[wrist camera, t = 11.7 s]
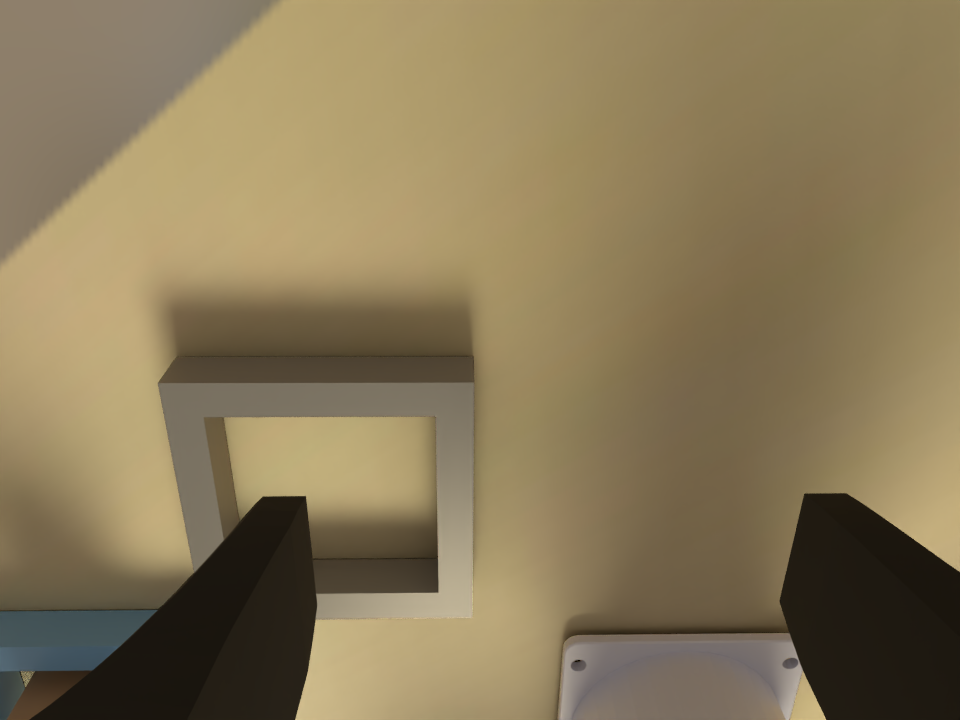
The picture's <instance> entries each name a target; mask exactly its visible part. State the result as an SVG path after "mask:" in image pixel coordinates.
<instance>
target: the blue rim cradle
mask: <svg viewBox="0 0 960 720" xmlns="http://www.w3.org/2000/svg"><path fill="white" fill-rule="evenodd" d="M156 611H157V610H95V611H0V720H7V718H8V717H9V715H10V713H11V711H12V710H13V708H14V706H15V705H16V703H17V701H18V700H19V698H20V696H21V695H22V693H23V691H24V689H25V687H24V684H23V681H22V678H21V675H20V672H19V671H84V670H93V669H95V668H96V667H97V666H98V665H99V664H100V663H102V662H103V661H104V660H105V659H106V658H107V657H108V656H109V655H111V654H112V653H113V652H114V651H115V650H116V649H117V648H118V647H120V646H121V645H122V644H123V643H124V642H125V641H126V640H127V639H128V638H129V637H130V636H131V635H132V634H133V633H134V632H135V631H136V630H138V629H139V628H140V627H141V626H142V625H143V624H144V623H145V622H146V621H147V620H148V619H149V618H150V617H151V616H152V615H153V614H154V613H155V612H156Z"/></svg>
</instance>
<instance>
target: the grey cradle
mask: <svg viewBox="0 0 960 720" xmlns="http://www.w3.org/2000/svg"><path fill="white" fill-rule="evenodd" d="M158 387H159V392H160V397H161V402H162V408H163V413H164V418H165V423H166V429H167V434H168V439H169V444H170V449H171V455H172V460H173V465H174V470H175V475H176V481H177V486H178V491H179V496H180V501H181V507H182V512H183V517H184V522H185V528H186V533H187V538H188V543H189V548H190V554H191V559H192V564H193V569H194V572H195V571H196V570H197V569H198V568H199V567H200V566H201V565H202V564H203V563H204V562H205V561H206V559H207V558H208V557H209V556H210V555H211V554H212V553H213V552H214V551H215V549H216V548H217V547H218V546H219V545H220V544H221V543H222V542H223V541H224V539H225V538H226V537H227V536H228V535H229V534H230V533H231V531H232V530H233V529H234V528H235V527H236V526H237V525H238V523H239V517H238V510H237V504H236V497H235V491H234V484H233V478H232V471H231V465H230V458H229V452H228V445H227V439H226V432H225V426H224V420H223V417H436V467H437V524H438V559H327V560H313V569H314V578H315V587H316V597H317V612H316V619H422V618H473V488H474V360H473V357H176V358H175V360H174V361H173V362H172V364H171V365H170V367H169V368H168V370H167V371H166V372H165V374H164V375H163V377H162V378H161V379H160V381H159V382H158Z"/></svg>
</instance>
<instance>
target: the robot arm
mask: <svg viewBox="0 0 960 720" xmlns="http://www.w3.org/2000/svg"><path fill="white" fill-rule="evenodd" d="M780 605H781V608H782V611H783V614H784V617H785V620H786V624H787V627H788V630H789V633H733V634H630V635H576V636H572V637H570V638H568V639H567V640H566V641H565V642H564V645H563V653H562V666H561V679H560V693H559V706H558V719H557V720H790V717H791V713H792V710H793V706H794V702H795V698H796V694H797V690H798V687H799V683H800V679H801V675H802V671H804V674H805V676H806V678H807V680H808V682H809V684H810V686H811V688H812V691H813V693H814V695H815V697H816V699H817V701H818V703H819V705H820V707H821V709H822V711H823V713H824V715H825V717H826V720H960V572H959V571H957V570H956V569H954V568H953V567H952V566H950V565H949V564H947V563H946V562H944V561H943V560H942V559H940V558H939V557H937V556H936V555H935V554H933V553H932V552H930V551H929V550H928V549H926V548H925V547H923V546H922V545H921V544H919V543H918V542H916V541H915V540H914V539H912V538H911V537H909V536H908V535H907V534H905V533H904V532H902V531H901V530H900V529H898V528H897V527H895V526H894V525H893V524H891V523H890V522H888V521H887V520H885V519H884V518H883V517H881V516H880V515H878V514H877V513H875V512H874V511H872V510H871V509H870V508H868V507H867V506H865V505H864V504H862V503H861V502H859V501H857V500H856V499H854V498H853V497H851V496H849V495H848V494H846V493H832V494H804V498H803V502H802V506H801V511H800V515H799V519H798V524H797V528H796V532H795V537H794V541H793V545H792V549H791V554H790V558H789V562H788V567H787V571H786V575H785V580H784V584H783V588H782V593H781V597H780ZM316 612H317V597H316V587H315V578H314V569H313V559H312V550H311V540H310V531H309V521H308V512H307V503H306V496H280V497H262V498H261V499H260V500H259V501H258V502H257V503H256V504H255V505H254V506H253V507H252V508H251V510H250V511H249V512H248V513H247V514H246V515H245V516H244V518H243V519H242V520H241V521H240V522H239V523H238V525H237V526H236V527H235V528H234V529H233V530H232V531H231V533H230V534H229V535H228V536H227V537H226V538H225V539H224V541H223V542H222V543H221V544H220V545H219V546H218V547H217V548H216V549H215V551H214V552H213V553H212V554H211V555H210V556H209V557H208V558H207V559H206V561H205V562H204V563H203V564H202V565H201V566H200V567H199V568H198V569H197V570H196V571H195V572H194V573H193V574H192V575H191V576H190V578H189V579H188V580H187V581H186V582H185V583H184V584H183V585H182V586H181V587H180V588H179V589H178V590H177V591H176V592H175V593H174V594H173V595H172V597H171V598H170V599H169V600H168V601H167V602H166V603H165V604H164V605H163V606H161V607H160V608H159V609H158V610H157V611H156V612H155V613H154V614H153V615H152V616H151V617H150V618H149V619H148V620H147V621H146V622H145V623H144V624H143V625H142V626H141V627H140V628H139V629H138V630H136V631H135V632H134V633H133V634H132V635H131V636H130V637H129V638H128V639H127V640H126V641H125V642H124V643H123V644H122V645H121V646H120V647H118V648H117V649H116V650H115V651H114V652H113V653H112V654H111V655H109V656H108V657H107V658H106V659H105V660H104V661H103V662H102V663H100V664H99V665H98V666H97V667H96V668H95V669H93V670H92V671H91V672H90V673H89V674H88V675H86V676H85V677H84V678H83V679H81V680H80V681H79V682H78V683H76V684H75V685H74V686H73V687H72V688H70V689H69V690H68V691H67V692H65V693H64V694H63V695H62V696H60V697H59V698H58V699H56V700H55V701H54V702H53V703H51V704H50V705H49V706H47V707H46V708H45V709H43V710H42V711H40V712H39V713H38V714H36V715H35V716H33V717H32V718H31V719H29V720H295V718H296V714H297V710H298V706H299V703H300V699H301V695H302V691H303V688H304V684H305V680H306V676H307V672H308V666H309V660H310V654H311V647H312V641H313V633H314V626H315V619H316ZM787 658H790V659H787ZM786 659H787V660H786ZM575 660H582V661H580V662H574V661H575Z"/></svg>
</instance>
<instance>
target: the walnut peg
mask: <svg viewBox="0 0 960 720" xmlns="http://www.w3.org/2000/svg"><path fill="white" fill-rule="evenodd" d="M91 671H92V670H84V671H35V673H34V674H33V676H32V678H31V679H30V681H29V683H28V684H27V686H26V688H25V689H24V691H23V693H22V695H21V696H20V698H19V700H18V701H17V703H16V705H15V706H14V708H13V710H12V711H11V713H10V715H9V717H8V718H7V720H29V719H31V718H32V717H33V716H35V715H36V714H38V713H39V712H40V711H42V710H43V709H45V708H46V707H47V706H49V705H50V704H51V703H53V702H54V701H55V700H56V699H58V698H59V697H60V696H62V695H63V694H64V693H65V692H67V691H68V690H69V689H70V688H72V687H73V686H74V685H75V684H76V683H78V682H79V681H80V680H81V679H83V678H84V677H85V676H86V675H88V674H89V673H90V672H91Z"/></svg>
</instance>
